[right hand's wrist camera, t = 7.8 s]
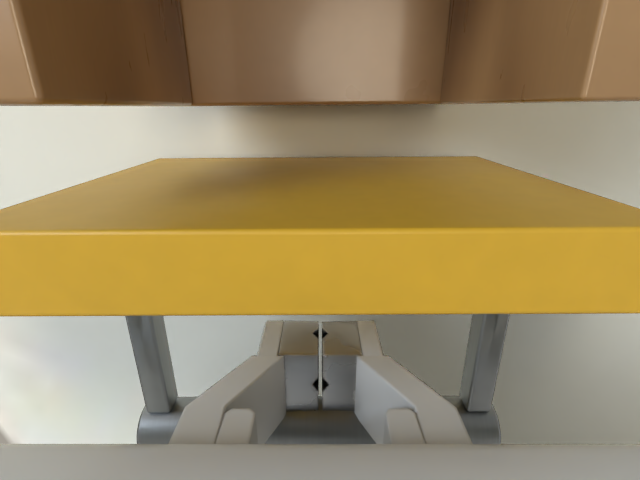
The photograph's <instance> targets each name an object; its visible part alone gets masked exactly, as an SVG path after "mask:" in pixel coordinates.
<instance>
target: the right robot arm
mask: <svg viewBox="0 0 640 480" xmlns="http://www.w3.org/2000/svg"><path fill="white" fill-rule="evenodd" d="M318 379H319V325H318V321H283V320H282V321H267V322H266V323H265V326H264V330H263V334H262V338H261V342H260V346H259V350H258V354H257V356H251V357H250V358H248V359H247V360H246V361H244V362H243V363H242V364H240V365H239V366H238V367H237V368H235V369H234V370H233V371H231V372H230V373H229V374H227V375H226V376H225V377H223V378H222V379H221V380H219V381H218V382H217V383H216V384H214V385H213V386H212V387H210V388H209V389H208V390H206V391H205V392H204V393H202V394H201V395H200V396H199V397H197V398H196V399H195V400H193V401H192V402H191V403H189V404H188V405H187V406H185V408H184V410H183V412H182V415H181V417H180V419H179V421H178V423H177V426H176V428H175V430H174V432H173V434H172V437H171V439H170V441H169V443H168V444H0V480H640V444H473V443H472V441H471V439H470V437H469V435H468V432H467V430H466V428H465V426H464V423H463V421H462V419H461V417H460V415H459V412H458V410H457V408H456V407H455V406H454V405H453V404H451V403H450V402H449V401H447V400H446V399H445V398H443V397H442V396H441V395H439V394H438V393H437V392H436V391H434V390H433V389H432V388H430V387H429V386H428V385H426V384H425V383H424V382H422V381H421V380H420V379H419V378H417V377H416V376H415V375H413V374H412V373H411V372H409V371H408V370H407V369H405V368H404V367H403V366H402V365H400V364H399V363H398V362H396V361H395V360H394V359H392V358H391V357H390V356H384V355H383V351H382V347H381V343H380V339H379V336H378V332H377V328H376V324H375V322H374V321H373V320H368V321H339V322H322V407H323V410H326V411H354V413H355V414H356V416H357V418H358V420H359V421H360V423H361V424H362V425H363V427H364V428H365V429H366V431H367V432H368V433H369V435H370V436H371V437H372V438H373V440H374V441H375V442H376V444H265V442H266V441H267V440H268V438H269V437H270V436H271V434H272V433H273V432H274V430H275V429H276V428H277V427H278V425H279V424H280V423H281V421H282V420H283V419H284V417H285V415H286V411H317V410H318Z"/></svg>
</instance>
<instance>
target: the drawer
mask: <svg viewBox="0 0 640 480" xmlns="http://www.w3.org/2000/svg"><path fill="white" fill-rule="evenodd" d="M603 101H640V0H0V106H271V105H404V104H492V103H547V102H603ZM582 313H640V209H638V208H635V207H632V206H629V205H626V204H623V203H620V202H617V201H614V200H610V199H607V198H604V197H601V196H598V195H595V194H592V193H589V192H585V191H582V190H579V189H576V188H573V187H570V186H567V185H564V184H561V183H557V182H554V181H551V180H548V179H545V178H542V177H539V176H536V175H533V174H529V173H526V172H523V171H520V170H517V169H514V168H511V167H508V166H505V165H501V164H498V163H495V162H492V161H489V160H486V159H483V158H480V157H476V156H457V157H311V158H165V159H156V160H153V161H150V162H147V163H144V164H141V165H138V166H135V167H131V168H128V169H125V170H122V171H119V172H116V173H113V174H110V175H107V176H103V177H100V178H97V179H94V180H91V181H88V182H85V183H82V184H79V185H75V186H72V187H69V188H66V189H63V190H60V191H57V192H54V193H51V194H47V195H44V196H41V197H38V198H35V199H32V200H29V201H26V202H23V203H19V204H16V205H13V206H10V207H7V208H4V209H1V210H0V316H126V320H127V325H128V329H129V334H130V338H131V343H132V347H133V351H134V356H135V360H136V365H137V369H138V374H139V378H140V382H141V387H142V391H143V396H144V400H145V407H144V409H143V411H142V414H141V416H140V420H139V424H138V429H137V444H168V443H169V441H170V439H171V437H172V434H173V432H174V430H175V428H176V426H177V423H178V421H179V419H180V417H181V415H182V412H183V410H184V408H185V406H187V405H188V404H189V403H191V402H192V401H193V400H195V399H196V398H197V397H177V396H178V394H177V389H176V383H175V378H174V373H173V367H172V362H171V356H170V351H169V345H168V340H167V334H166V329H165V324H164V318H163V315H372V314H473V315H472V321H471V327H470V333H469V340H468V346H467V352H466V358H465V364H464V370H463V377H462V383H461V389H460V396H442V397H443V398H445V399H446V400H447V401H449V402H450V403H451V404H453V405H454V406H455V407H456V408H457V410H458V412H459V415H460V417H461V419H462V421H463V423H464V426H465V428H466V430H467V432H468V435H469V437H470V439H471V441H472V443H473V444H500V443H501V432H500V425H499V421H498V417H497V414H496V411H495V409H494V407H493V405H492V399H493V394H494V389H495V384H496V379H497V374H498V370H499V365H500V360H501V355H502V350H503V345H504V340H505V335H506V330H507V325H508V321H509V316H510V314H582ZM265 444H376V442H375V441H374V440H373V438H372V437H371V436H370V435H369V433H368V432H367V431H366V429H365V428H364V427H363V425H362V424H361V423H360V421H359V420H358V418H357V416H356V414H355V413H354V411H326V410H323V407H322V396H318V410H317V411H286V415H285V417H284V419H283V420H282V421H281V423H280V424H279V425H278V427H277V428H276V429H275V430H274V432H273V433H272V434H271V436H270V437H269V438H268V440H267V441H266V442H265Z"/></svg>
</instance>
